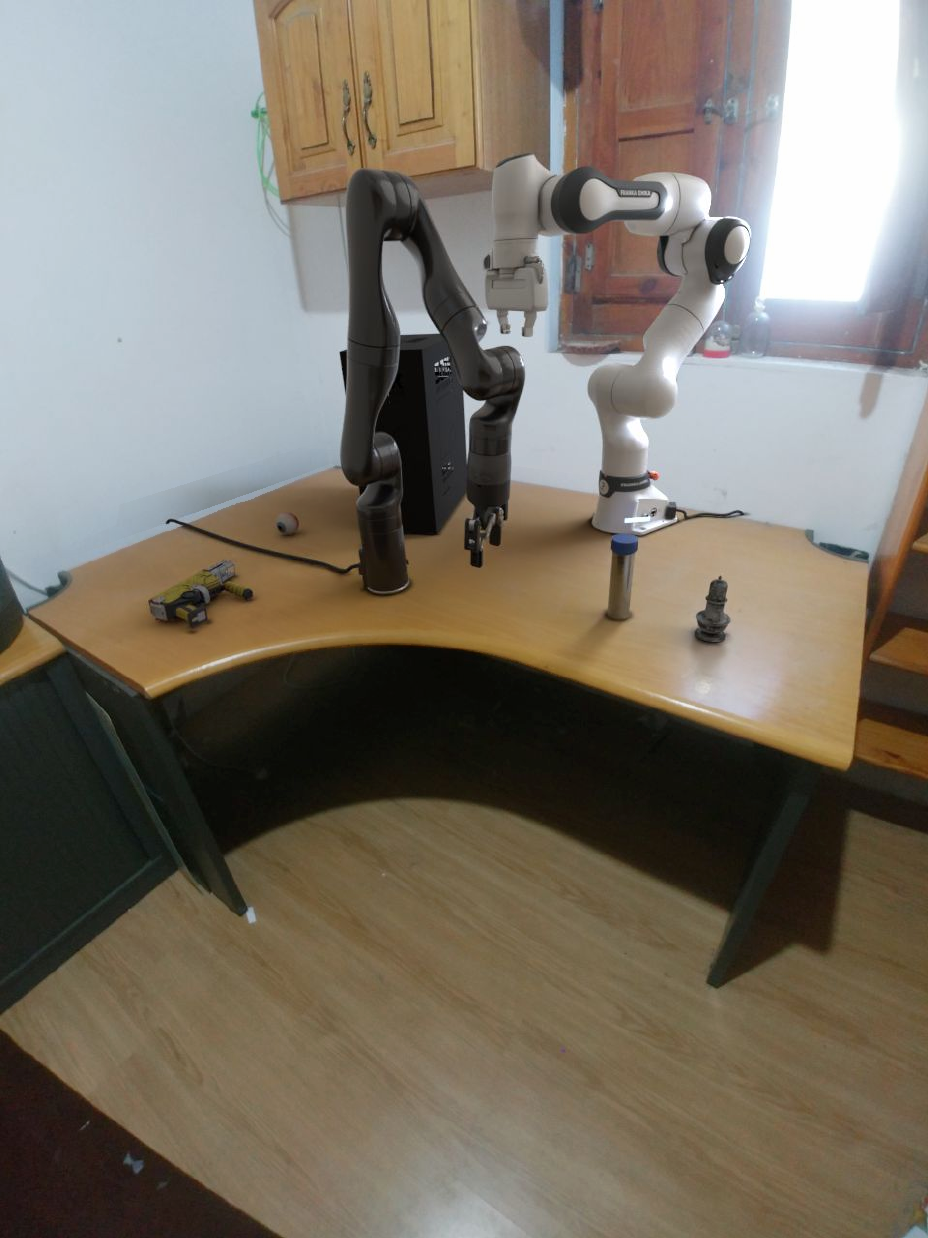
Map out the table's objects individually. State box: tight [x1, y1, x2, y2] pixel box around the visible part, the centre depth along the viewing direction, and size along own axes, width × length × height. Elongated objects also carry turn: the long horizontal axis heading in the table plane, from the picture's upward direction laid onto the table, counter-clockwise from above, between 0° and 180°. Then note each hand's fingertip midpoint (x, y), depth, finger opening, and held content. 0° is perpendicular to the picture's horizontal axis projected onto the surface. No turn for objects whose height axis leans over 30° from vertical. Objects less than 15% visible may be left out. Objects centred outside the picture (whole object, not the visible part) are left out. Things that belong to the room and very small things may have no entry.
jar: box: [606, 550, 636, 621], centre depth 115 cm, size 4×4×16 cm
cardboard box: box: [339, 333, 468, 535], centre depth 166 cm, size 38×20×45 cm, turn 167°
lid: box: [609, 533, 639, 555], centre depth 111 cm, size 5×5×2 cm
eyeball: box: [275, 511, 300, 536], centre depth 163 cm, size 6×6×6 cm
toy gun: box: [148, 558, 254, 629], centre depth 131 cm, size 5×24×15 cm
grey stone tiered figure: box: [694, 575, 731, 643], centre depth 107 cm, size 6×6×12 cm
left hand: (485, 555), depth 113 cm, fingers open, 8 cm apart
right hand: (516, 335), depth 125 cm, fingers open, 8 cm apart
